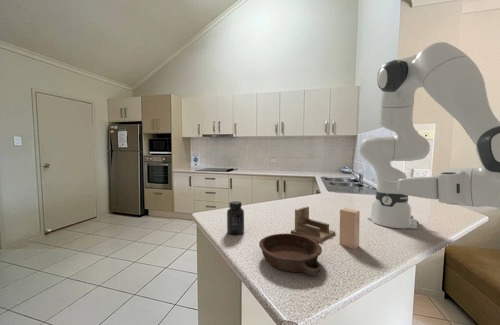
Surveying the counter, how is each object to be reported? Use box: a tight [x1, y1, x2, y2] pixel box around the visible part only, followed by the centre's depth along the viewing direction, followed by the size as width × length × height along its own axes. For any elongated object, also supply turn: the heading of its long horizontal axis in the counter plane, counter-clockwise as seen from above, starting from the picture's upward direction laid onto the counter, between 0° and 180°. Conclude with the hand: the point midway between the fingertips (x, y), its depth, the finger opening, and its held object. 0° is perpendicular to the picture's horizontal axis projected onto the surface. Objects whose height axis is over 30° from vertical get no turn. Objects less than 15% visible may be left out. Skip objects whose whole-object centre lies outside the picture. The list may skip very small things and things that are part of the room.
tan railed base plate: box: [290, 205, 336, 244], centre depth 82 cm, size 12×12×9 cm
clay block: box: [339, 207, 361, 250], centre depth 71 cm, size 4×5×12 cm
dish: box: [258, 233, 323, 276], centre depth 61 cm, size 18×22×5 cm
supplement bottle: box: [226, 200, 245, 236], centre depth 83 cm, size 7×7×12 cm
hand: (390, 183), depth 61 cm, fingers open, 8 cm apart
